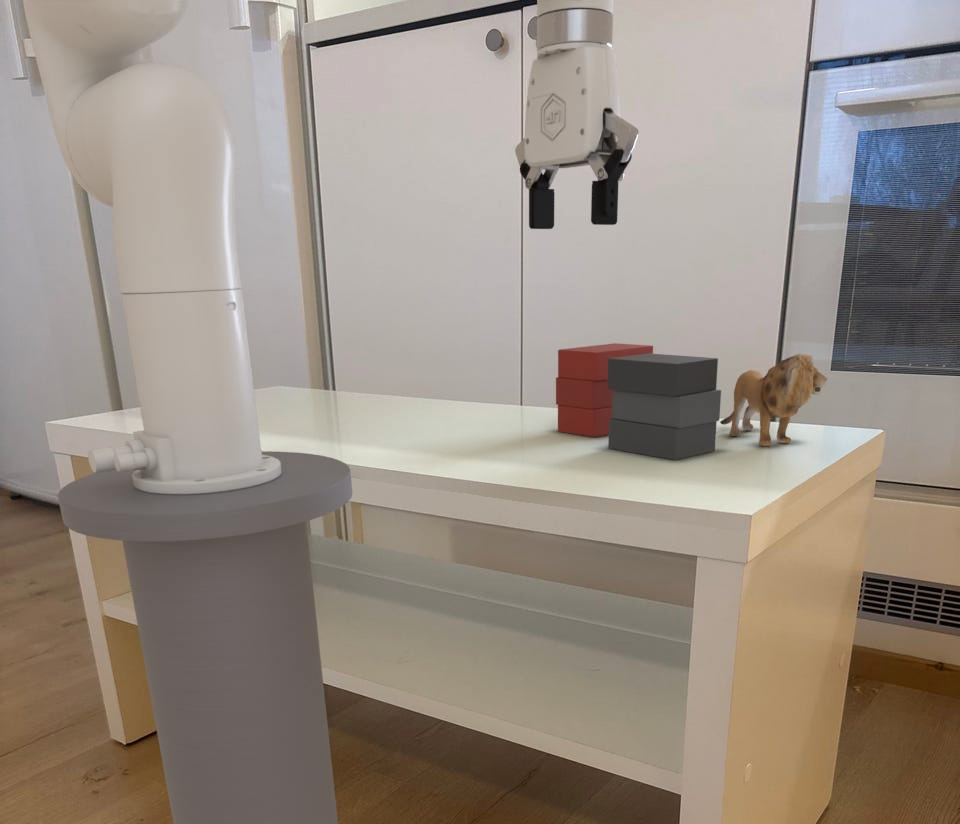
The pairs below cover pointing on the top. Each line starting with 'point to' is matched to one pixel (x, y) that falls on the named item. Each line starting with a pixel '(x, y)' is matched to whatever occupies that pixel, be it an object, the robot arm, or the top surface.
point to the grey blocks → (663, 405)
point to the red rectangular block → (594, 360)
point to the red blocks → (583, 406)
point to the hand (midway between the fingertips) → (571, 226)
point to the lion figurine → (775, 395)
